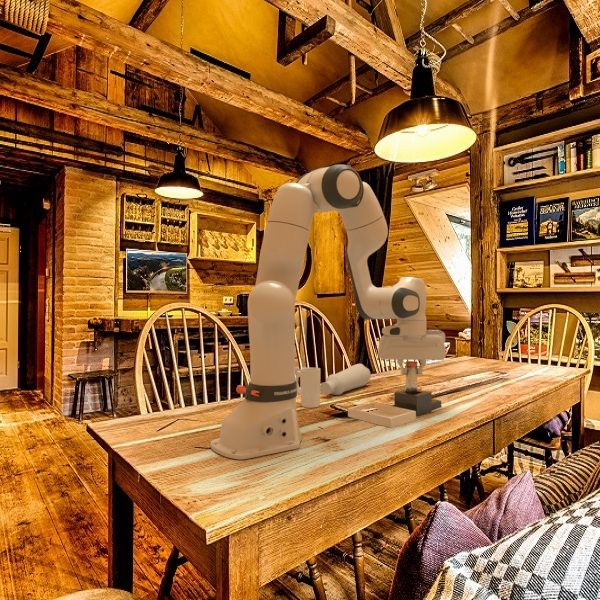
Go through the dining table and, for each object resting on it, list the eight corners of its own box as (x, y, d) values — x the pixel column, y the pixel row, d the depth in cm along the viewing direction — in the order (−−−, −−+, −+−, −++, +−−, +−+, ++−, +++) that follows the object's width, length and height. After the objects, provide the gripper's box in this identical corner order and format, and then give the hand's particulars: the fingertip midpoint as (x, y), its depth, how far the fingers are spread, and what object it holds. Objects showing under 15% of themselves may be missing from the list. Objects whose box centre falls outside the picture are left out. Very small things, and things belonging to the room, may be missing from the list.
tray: (391, 428, 112) (391, 418, 112) (348, 416, 124) (347, 408, 124) (416, 420, 120) (415, 411, 120) (373, 409, 132) (373, 401, 132)
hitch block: (416, 416, 123) (416, 396, 123) (394, 411, 129) (394, 392, 129) (445, 407, 134) (445, 388, 134) (423, 403, 140) (423, 385, 140)
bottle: (348, 375, 176) (310, 390, 151) (359, 358, 173) (321, 370, 148) (365, 389, 172) (328, 406, 147) (376, 372, 169) (341, 387, 144)
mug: (324, 405, 138) (324, 368, 138) (311, 409, 133) (311, 371, 133) (302, 400, 145) (302, 366, 145) (288, 404, 140) (288, 368, 140)
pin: (412, 402, 127) (412, 362, 127) (403, 400, 129) (403, 361, 130) (419, 401, 129) (419, 361, 129) (410, 399, 131) (410, 360, 132)
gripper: (441, 329, 132) (441, 372, 132) (377, 328, 133) (377, 372, 132) (448, 330, 126) (448, 376, 126) (380, 329, 126) (380, 375, 126)
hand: (411, 374), depth 129 cm, fingers closed on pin, 3 cm apart
